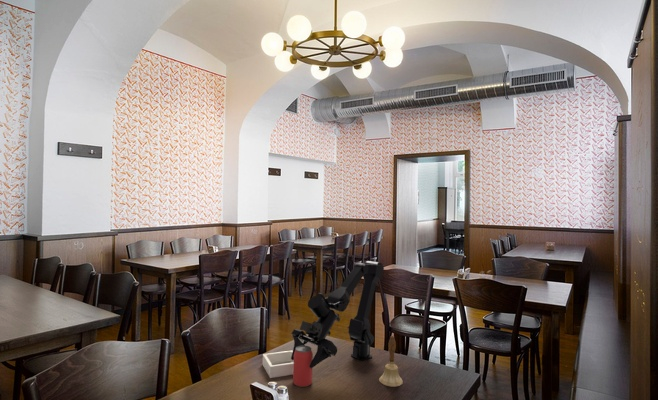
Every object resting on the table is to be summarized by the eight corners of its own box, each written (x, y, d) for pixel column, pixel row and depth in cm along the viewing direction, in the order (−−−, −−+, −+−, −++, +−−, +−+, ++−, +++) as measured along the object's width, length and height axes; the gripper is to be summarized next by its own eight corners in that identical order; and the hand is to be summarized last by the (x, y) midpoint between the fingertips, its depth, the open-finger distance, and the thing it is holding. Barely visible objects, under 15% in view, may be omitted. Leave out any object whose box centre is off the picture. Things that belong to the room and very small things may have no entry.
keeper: (292, 360, 151) (292, 350, 151) (302, 373, 140) (302, 362, 140) (262, 364, 147) (262, 354, 147) (270, 378, 136) (270, 366, 136)
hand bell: (407, 381, 136) (408, 336, 136) (394, 389, 130) (395, 342, 130) (387, 373, 141) (388, 330, 141) (374, 381, 135) (375, 335, 135)
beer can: (309, 388, 128) (310, 352, 129) (290, 386, 130) (291, 350, 130) (314, 380, 135) (314, 345, 135) (296, 377, 136) (296, 344, 136)
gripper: (295, 306, 142) (271, 343, 134) (332, 317, 129) (308, 359, 121) (310, 323, 148) (287, 360, 140) (347, 335, 135) (324, 376, 127)
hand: (300, 363), depth 132 cm, fingers open, 9 cm apart
